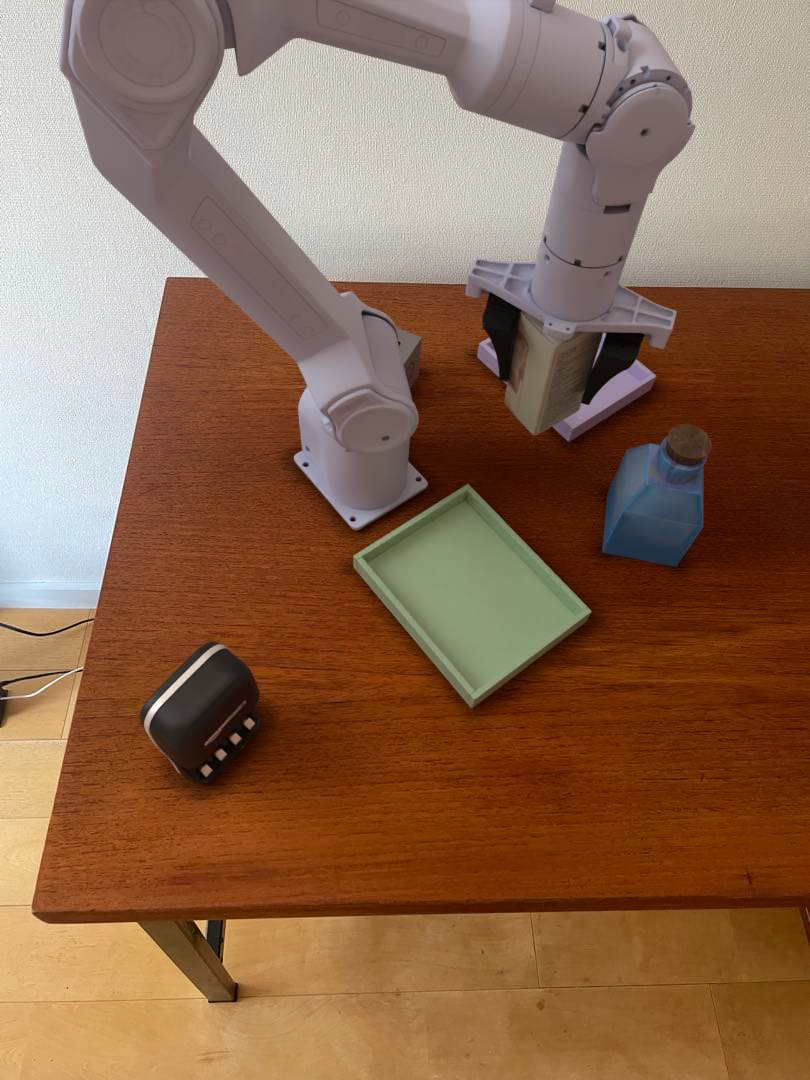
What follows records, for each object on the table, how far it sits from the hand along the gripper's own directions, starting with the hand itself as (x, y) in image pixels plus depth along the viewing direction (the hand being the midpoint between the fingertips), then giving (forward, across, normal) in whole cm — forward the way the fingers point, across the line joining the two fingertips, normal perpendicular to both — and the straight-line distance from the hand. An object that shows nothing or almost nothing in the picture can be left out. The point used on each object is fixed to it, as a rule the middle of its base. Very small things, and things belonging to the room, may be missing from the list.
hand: (546, 383), depth 63 cm
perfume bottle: (+10, +11, -4) cm, 16 cm away
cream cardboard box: (+3, 0, 0) cm, 3 cm away
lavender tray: (+10, +1, +12) cm, 15 cm away
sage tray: (+10, -1, -15) cm, 18 cm away
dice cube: (+10, -15, +4) cm, 18 cm away
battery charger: (+10, -14, -33) cm, 37 cm away
